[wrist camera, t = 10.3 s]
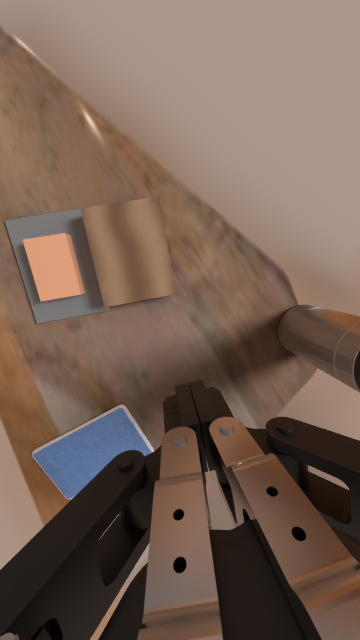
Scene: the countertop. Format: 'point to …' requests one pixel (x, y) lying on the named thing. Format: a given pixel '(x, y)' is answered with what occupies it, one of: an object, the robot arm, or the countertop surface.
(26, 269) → the mat
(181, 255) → the countertop surface
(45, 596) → the robot arm
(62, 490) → the tablet computer
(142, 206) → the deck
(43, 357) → the countertop surface
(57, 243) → the orange rectangular block
